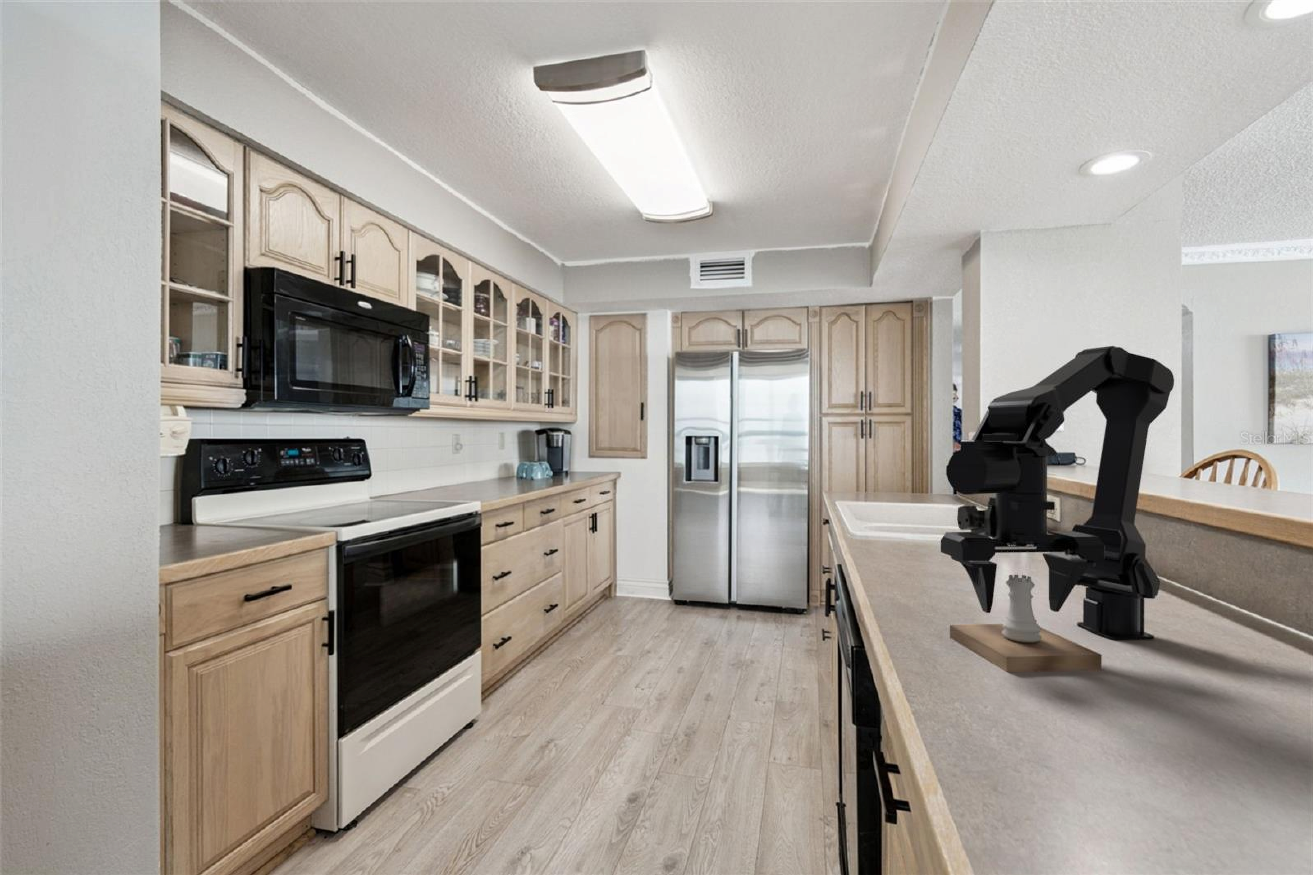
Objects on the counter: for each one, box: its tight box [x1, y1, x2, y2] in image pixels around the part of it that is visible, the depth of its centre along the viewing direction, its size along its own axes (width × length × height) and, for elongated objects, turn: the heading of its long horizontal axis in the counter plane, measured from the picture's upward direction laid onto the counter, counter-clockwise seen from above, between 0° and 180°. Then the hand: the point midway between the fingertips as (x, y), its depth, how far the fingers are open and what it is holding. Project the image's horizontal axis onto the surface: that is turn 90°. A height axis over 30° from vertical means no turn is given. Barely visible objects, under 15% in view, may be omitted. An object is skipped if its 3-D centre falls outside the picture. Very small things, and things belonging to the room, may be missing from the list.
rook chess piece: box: [1002, 574, 1042, 643], centre depth 77 cm, size 4×4×8 cm
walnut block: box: [949, 623, 1103, 673], centre depth 77 cm, size 12×12×2 cm
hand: (1020, 611), depth 77 cm, fingers open, 9 cm apart
